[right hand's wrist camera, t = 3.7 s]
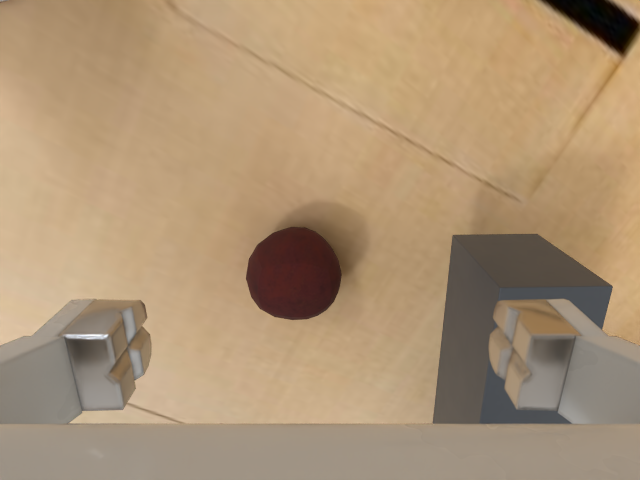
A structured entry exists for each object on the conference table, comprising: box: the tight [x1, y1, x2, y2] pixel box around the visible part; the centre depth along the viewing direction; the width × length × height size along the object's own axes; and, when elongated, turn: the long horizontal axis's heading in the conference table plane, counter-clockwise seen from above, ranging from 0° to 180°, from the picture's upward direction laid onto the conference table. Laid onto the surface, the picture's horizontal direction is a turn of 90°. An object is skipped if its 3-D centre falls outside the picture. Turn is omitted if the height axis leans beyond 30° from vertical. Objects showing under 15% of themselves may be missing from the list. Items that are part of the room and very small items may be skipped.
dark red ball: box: [246, 227, 341, 320], centre depth 36 cm, size 7×8×7 cm
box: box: [433, 234, 613, 424], centre depth 33 cm, size 26×6×9 cm, turn 0°
